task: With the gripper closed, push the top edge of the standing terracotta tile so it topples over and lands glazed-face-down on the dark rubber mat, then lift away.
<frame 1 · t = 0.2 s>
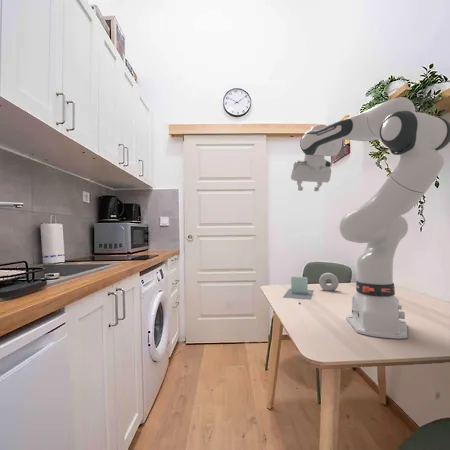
hand: (308, 190, 136), 52 cm above the table, tool tilted 20°, fingers open, 8 cm apart
mat: (299, 294, 142), on the table
tile: (299, 292, 144), point 1 cm above the table, touching mat
donut: (328, 291, 149), on the table
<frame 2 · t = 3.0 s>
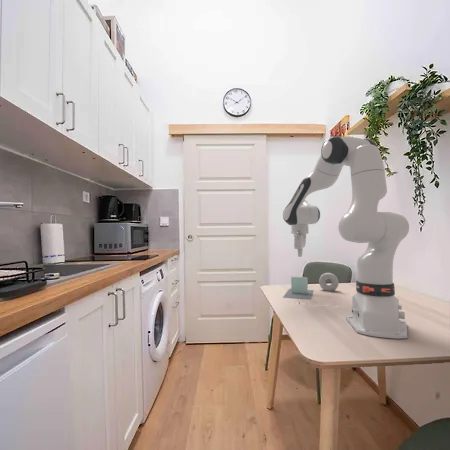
hand: (300, 256, 150), 19 cm above the table, tool pointing down, fingers closed
nothing on the table moved.
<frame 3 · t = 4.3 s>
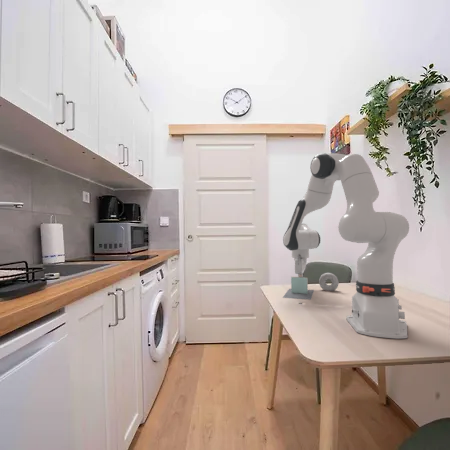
hand: (300, 280, 150), 6 cm above the table, tool pointing down, fingers closed
nothing on the table moved.
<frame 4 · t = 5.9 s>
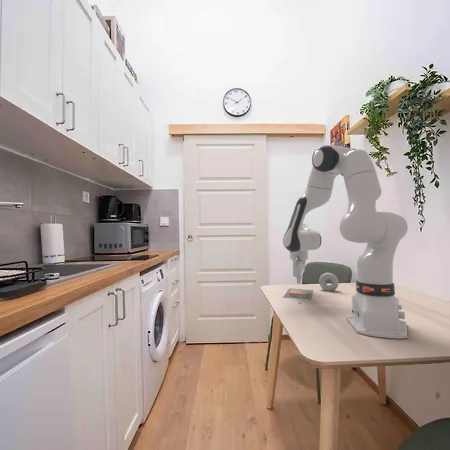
hand: (299, 283, 142), 6 cm above the table, tool pointing down, fingers closed
tile: (299, 291, 143), point 1 cm above the table, tilted 90°, touching mat
everything else where it was.
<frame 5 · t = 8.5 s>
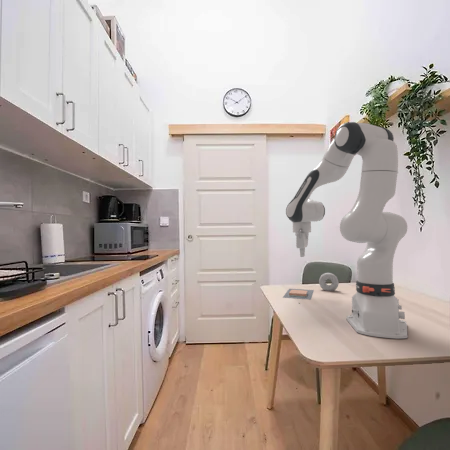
hand: (302, 256, 140), 20 cm above the table, tool pointing down, fingers closed
nothing on the table moved.
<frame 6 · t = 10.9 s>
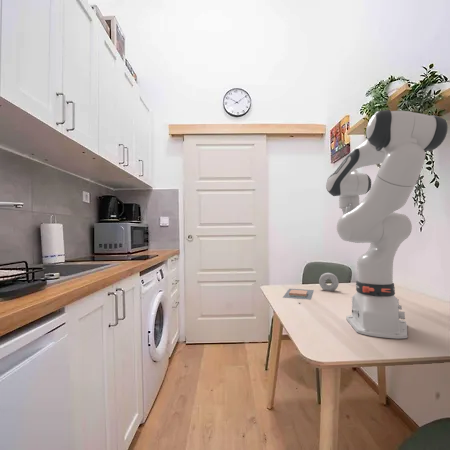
hand: (349, 233, 133), 31 cm above the table, tool pointing down, fingers closed
nothing on the table moved.
at the end: tile tilted 90°; tile inside the target area (2.6 cm from its centre), point 1.3 cm above the table; the gripper is holding nothing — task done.
